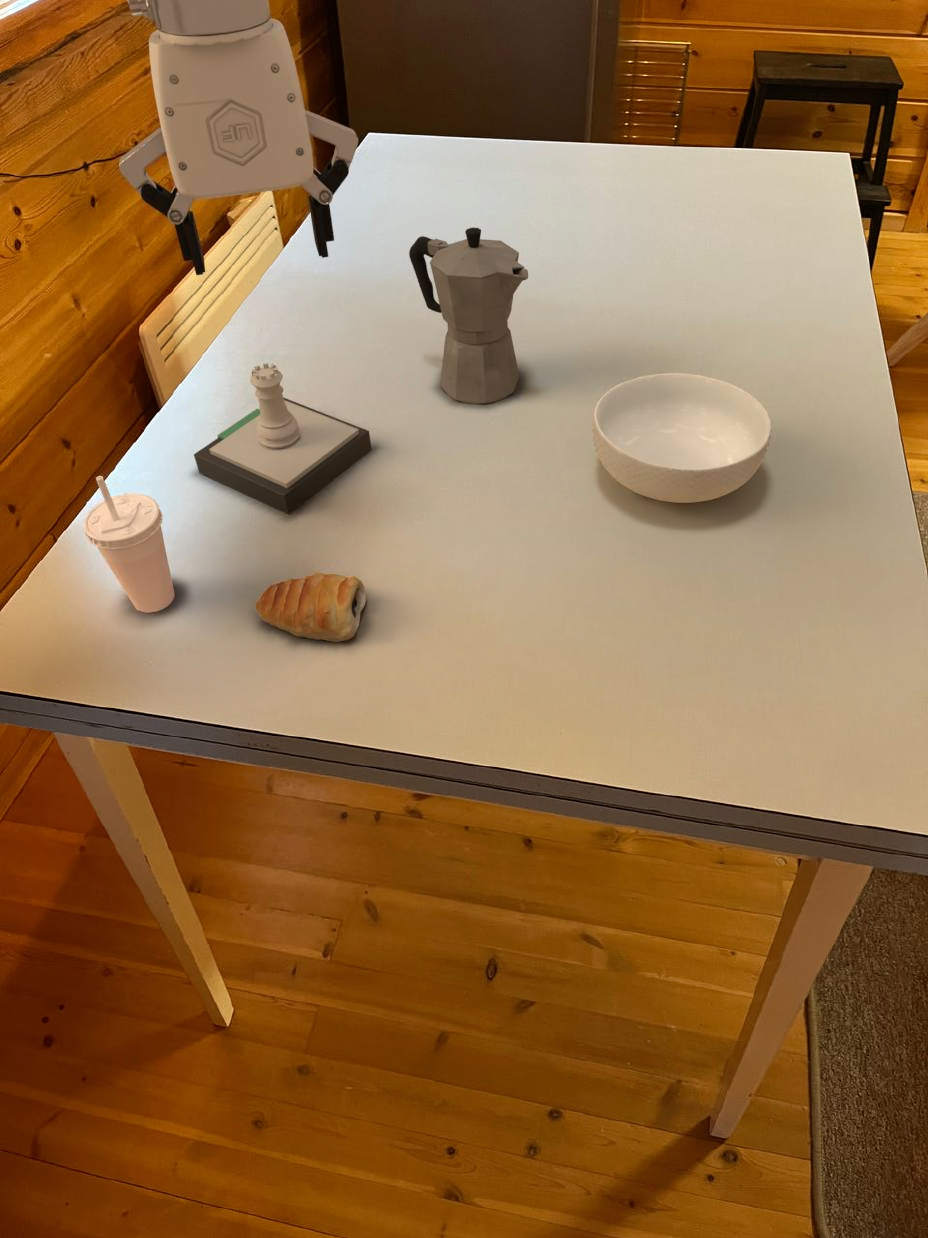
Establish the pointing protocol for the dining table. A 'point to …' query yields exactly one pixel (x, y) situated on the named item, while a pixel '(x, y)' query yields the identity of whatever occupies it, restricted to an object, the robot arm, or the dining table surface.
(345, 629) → the pastry
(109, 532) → the smoothie
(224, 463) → the scale
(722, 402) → the cereal bowl
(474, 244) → the coffeepot
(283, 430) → the rook chess piece
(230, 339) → the dining table surface
